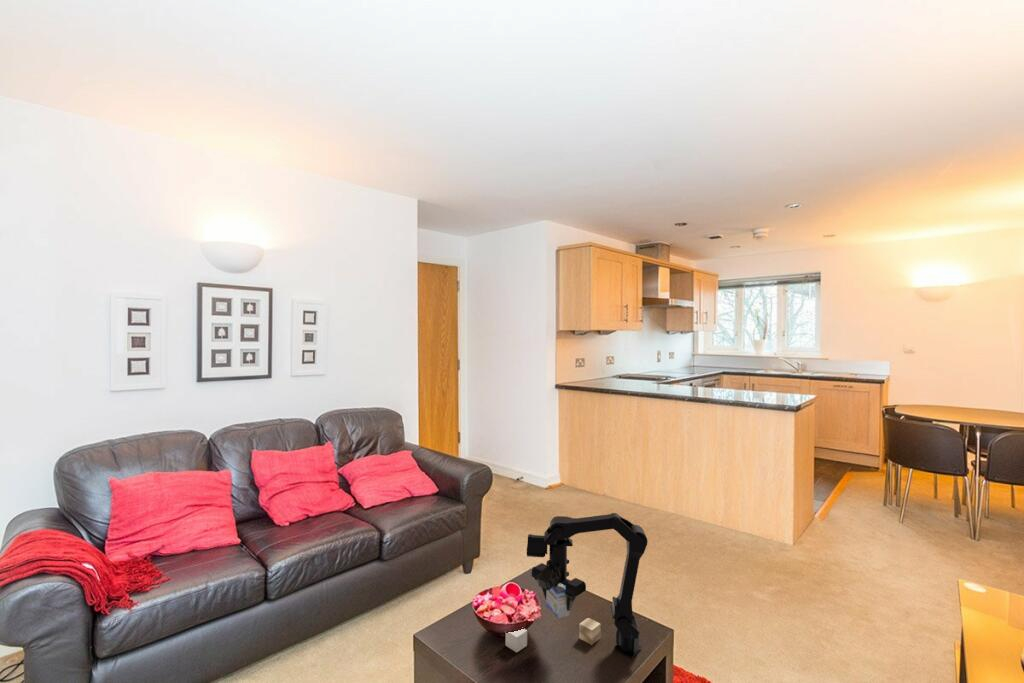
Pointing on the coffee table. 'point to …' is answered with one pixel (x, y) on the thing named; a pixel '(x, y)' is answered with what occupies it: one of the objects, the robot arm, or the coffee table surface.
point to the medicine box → (557, 601)
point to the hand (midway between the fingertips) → (557, 604)
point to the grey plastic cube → (516, 640)
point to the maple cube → (589, 631)
